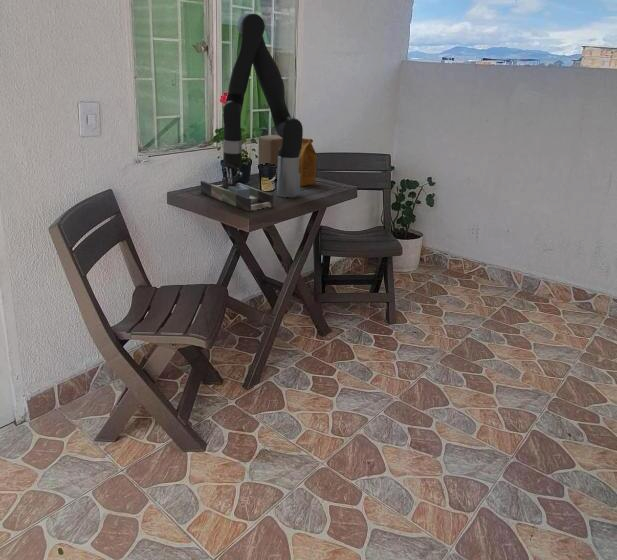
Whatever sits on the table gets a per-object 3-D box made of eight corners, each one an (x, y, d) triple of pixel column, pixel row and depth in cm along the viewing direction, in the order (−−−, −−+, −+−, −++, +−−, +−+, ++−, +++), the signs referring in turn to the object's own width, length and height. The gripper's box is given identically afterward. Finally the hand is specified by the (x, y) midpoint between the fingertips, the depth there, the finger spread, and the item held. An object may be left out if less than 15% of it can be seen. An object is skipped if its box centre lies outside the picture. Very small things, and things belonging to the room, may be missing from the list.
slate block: (241, 194, 235) (241, 185, 233) (249, 198, 230) (249, 188, 228) (228, 195, 232) (228, 186, 230) (236, 199, 227) (236, 190, 225)
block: (257, 177, 275) (257, 136, 267) (272, 174, 281) (273, 134, 273) (270, 181, 268) (271, 139, 260) (286, 178, 275) (287, 137, 267)
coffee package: (304, 180, 274) (306, 134, 265) (317, 186, 264) (320, 138, 255) (286, 181, 269) (288, 135, 260) (299, 187, 259) (301, 139, 250)
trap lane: (224, 188, 251) (224, 177, 249) (273, 206, 227) (273, 194, 225) (200, 192, 243) (200, 181, 241) (248, 211, 219) (248, 199, 217)
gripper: (249, 153, 226) (249, 194, 233) (231, 147, 235) (231, 188, 242) (234, 154, 222) (234, 197, 228) (216, 149, 231) (216, 190, 237)
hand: (232, 192), depth 235 cm, fingers closed
